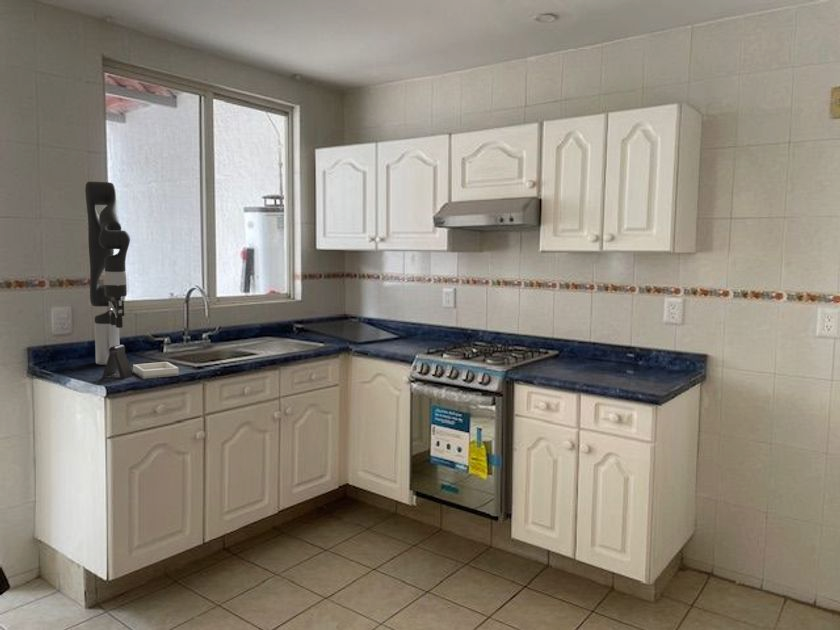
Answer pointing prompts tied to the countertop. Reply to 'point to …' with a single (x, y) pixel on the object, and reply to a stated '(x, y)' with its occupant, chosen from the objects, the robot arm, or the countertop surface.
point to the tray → (155, 370)
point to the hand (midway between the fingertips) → (116, 326)
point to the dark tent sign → (117, 363)
